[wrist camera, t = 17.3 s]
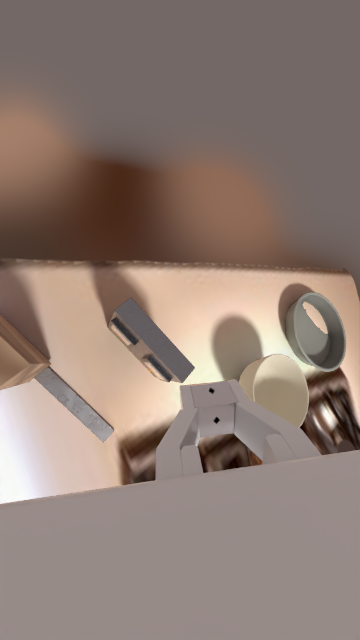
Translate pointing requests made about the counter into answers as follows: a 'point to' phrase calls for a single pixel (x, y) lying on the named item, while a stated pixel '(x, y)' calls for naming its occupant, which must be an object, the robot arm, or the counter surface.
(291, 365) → the bowl
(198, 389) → the robot arm
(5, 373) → the brown flat angular block
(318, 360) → the cake pan
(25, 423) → the counter surface
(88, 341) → the counter surface
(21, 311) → the counter surface
